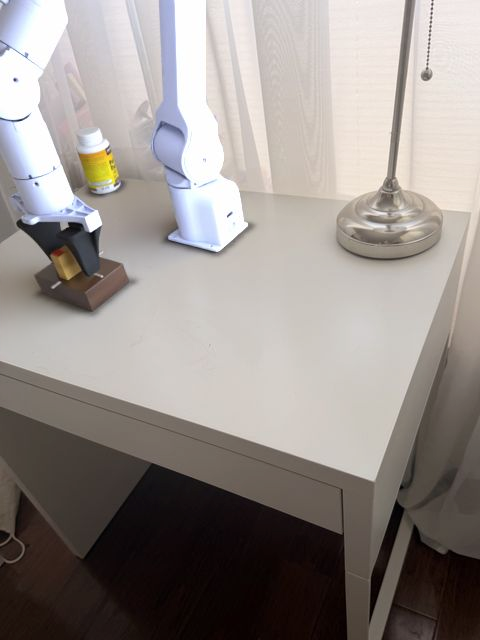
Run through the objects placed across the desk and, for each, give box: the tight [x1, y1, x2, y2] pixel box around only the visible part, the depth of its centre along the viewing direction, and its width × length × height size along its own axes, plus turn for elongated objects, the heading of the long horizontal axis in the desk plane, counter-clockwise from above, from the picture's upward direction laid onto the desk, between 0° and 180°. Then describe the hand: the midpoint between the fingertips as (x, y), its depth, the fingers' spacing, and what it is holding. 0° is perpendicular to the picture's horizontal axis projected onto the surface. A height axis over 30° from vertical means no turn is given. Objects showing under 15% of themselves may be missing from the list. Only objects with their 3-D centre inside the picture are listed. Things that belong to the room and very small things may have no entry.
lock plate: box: [33, 250, 130, 312], centre depth 73 cm, size 10×9×3 cm
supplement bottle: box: [75, 126, 121, 195], centre depth 94 cm, size 6×6×10 cm
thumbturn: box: [50, 245, 82, 280], centre depth 71 cm, size 5×2×4 cm, turn 147°
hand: (77, 266), depth 72 cm, fingers open, 6 cm apart
